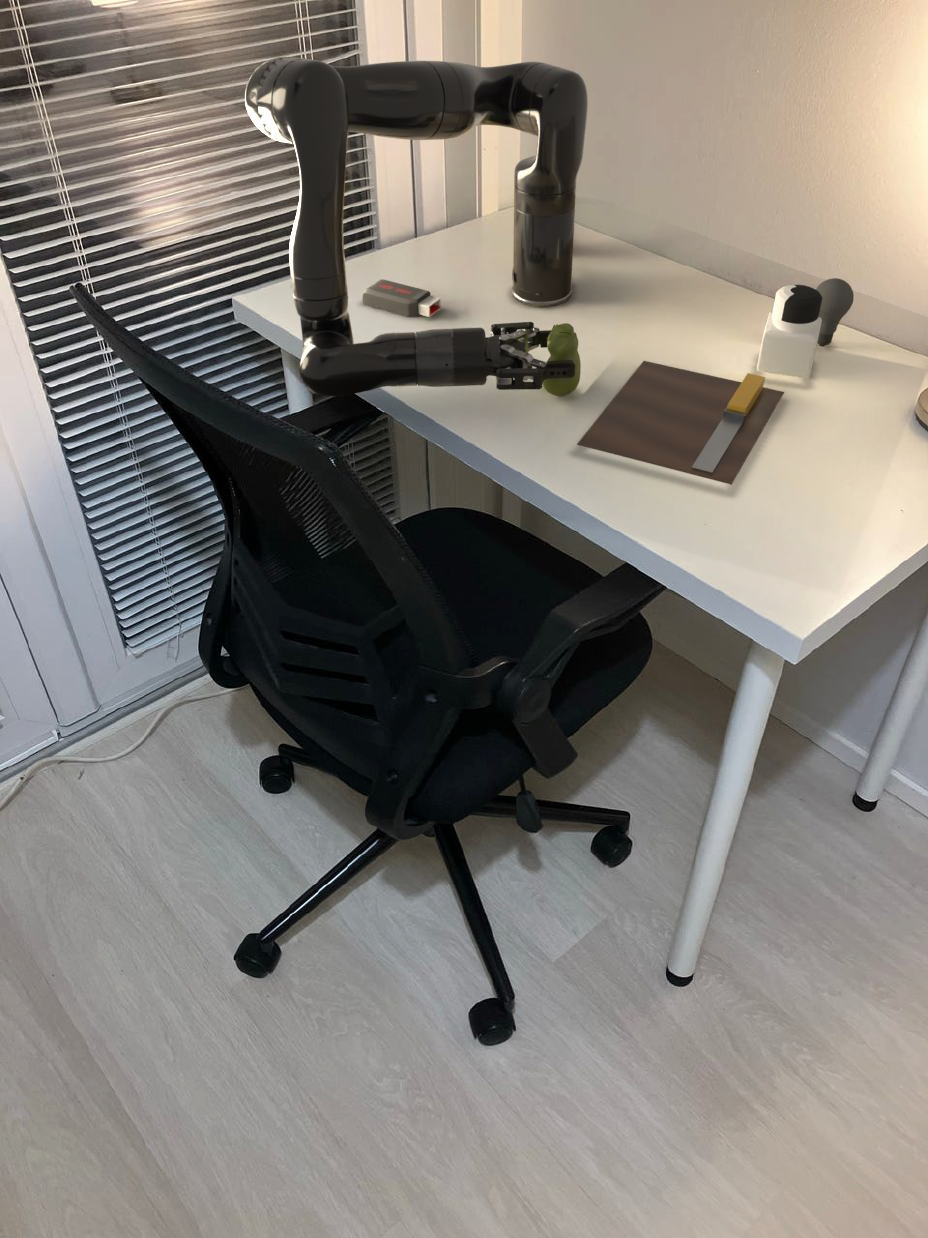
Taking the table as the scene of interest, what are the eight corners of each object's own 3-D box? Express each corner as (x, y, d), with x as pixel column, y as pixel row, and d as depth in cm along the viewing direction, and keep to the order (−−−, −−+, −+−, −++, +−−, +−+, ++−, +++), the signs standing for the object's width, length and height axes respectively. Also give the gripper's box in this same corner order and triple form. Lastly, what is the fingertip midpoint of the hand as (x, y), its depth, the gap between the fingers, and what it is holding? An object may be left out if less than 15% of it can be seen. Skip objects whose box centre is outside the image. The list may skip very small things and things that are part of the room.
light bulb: (801, 335, 156) (815, 270, 149) (840, 338, 155) (856, 272, 148) (803, 352, 152) (817, 287, 145) (842, 356, 151) (859, 289, 144)
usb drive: (381, 291, 170) (380, 275, 168) (444, 307, 165) (443, 291, 163) (362, 304, 166) (361, 287, 164) (426, 321, 162) (425, 304, 160)
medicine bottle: (812, 363, 149) (830, 282, 141) (807, 387, 144) (825, 305, 136) (761, 356, 151) (776, 276, 143) (754, 380, 146) (769, 298, 138)
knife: (744, 384, 143) (746, 372, 141) (764, 389, 142) (766, 377, 140) (690, 468, 128) (692, 456, 127) (712, 474, 127) (714, 461, 126)
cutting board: (642, 369, 149) (643, 360, 148) (782, 401, 142) (784, 391, 141) (576, 454, 133) (576, 444, 132) (729, 494, 126) (731, 484, 125)
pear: (573, 406, 142) (577, 338, 135) (535, 400, 143) (537, 332, 137) (583, 386, 146) (587, 319, 139) (546, 380, 147) (549, 313, 141)
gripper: (451, 357, 133) (579, 353, 133) (448, 307, 143) (566, 302, 144) (452, 409, 138) (576, 405, 138) (449, 357, 148) (564, 352, 149)
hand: (571, 352), depth 141 cm, fingers open, 8 cm apart
